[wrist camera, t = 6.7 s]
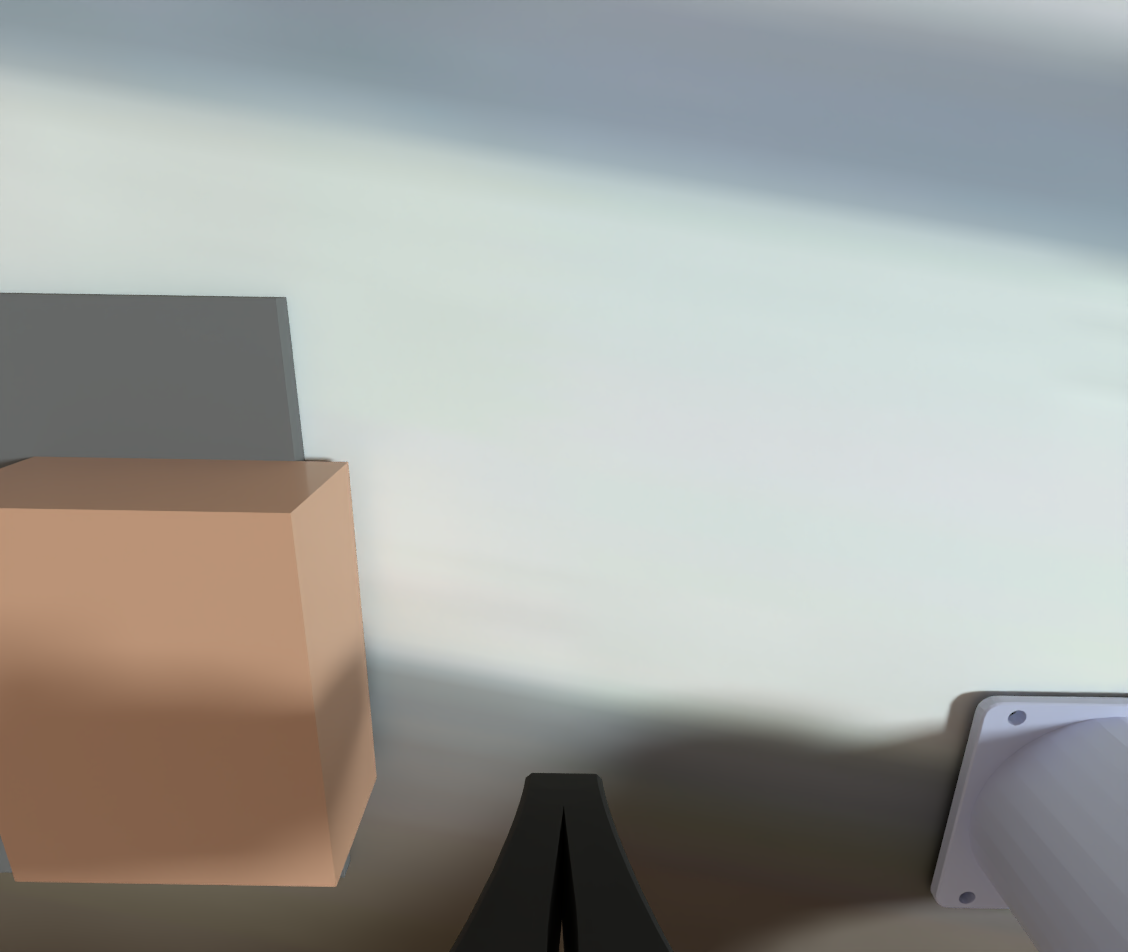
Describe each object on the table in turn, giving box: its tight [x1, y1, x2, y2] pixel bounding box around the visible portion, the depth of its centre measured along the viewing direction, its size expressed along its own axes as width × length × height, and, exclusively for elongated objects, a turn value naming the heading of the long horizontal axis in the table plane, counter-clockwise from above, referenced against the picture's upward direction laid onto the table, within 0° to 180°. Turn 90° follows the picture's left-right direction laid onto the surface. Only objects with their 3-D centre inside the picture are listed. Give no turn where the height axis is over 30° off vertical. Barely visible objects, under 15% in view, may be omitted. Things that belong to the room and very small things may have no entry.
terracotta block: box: [0, 457, 377, 887], centre depth 16 cm, size 4×10×8 cm
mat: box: [0, 293, 350, 877], centre depth 18 cm, size 16×18×2 cm
